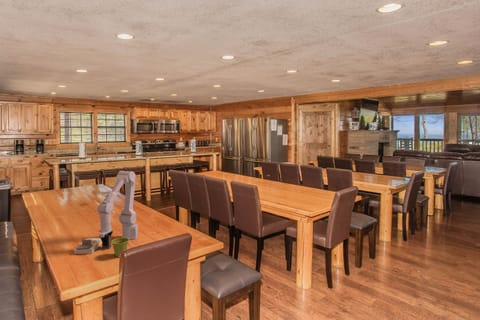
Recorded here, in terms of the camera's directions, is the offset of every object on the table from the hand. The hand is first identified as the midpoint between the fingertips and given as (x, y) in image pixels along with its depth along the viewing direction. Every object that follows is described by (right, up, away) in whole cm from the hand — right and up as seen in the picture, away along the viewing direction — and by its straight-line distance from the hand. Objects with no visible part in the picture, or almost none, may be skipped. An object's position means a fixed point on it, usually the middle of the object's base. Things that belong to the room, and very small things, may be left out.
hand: (106, 244), depth 188 cm
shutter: (-10, 0, -6) cm, 12 cm away
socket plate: (-11, -2, 0) cm, 11 cm away
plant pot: (+13, -3, -11) cm, 17 cm away
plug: (0, -2, 0) cm, 2 cm away
